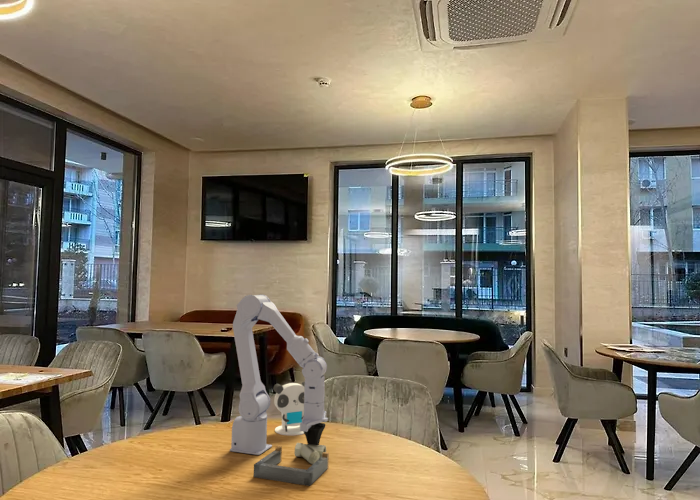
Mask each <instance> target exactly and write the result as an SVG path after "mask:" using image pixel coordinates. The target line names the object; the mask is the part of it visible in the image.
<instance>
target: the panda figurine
mask: <svg viewBox="0 0 700 500" xmlns="http://www.w3.org/2000/svg"><path fill="white" fill-rule="evenodd" d="M304 385H305V381H302V382H301V384H300V383H297V382H289V383H285V384H283V385H281V384H280V383H276V384H274V385H273V392H274V393H275V394H274V399H273V404H274V406H275V408H276V409H277V410H278V411H279V412H281V413H280V415H281V425H279V426H278V425H277V427H274V428H275V429H274V432H275V433H276V434H278V435H281V436H301V435H305V434H304V432H303V431H300V424H301V423H302V420H303V417H304Z"/></svg>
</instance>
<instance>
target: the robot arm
mask: <svg viewBox="0 0 700 500" xmlns="http://www.w3.org/2000/svg"><path fill="white" fill-rule="evenodd" d="M236 308H237V309H236V312H235V313H236V314H235V316H234V319H233V322H232V330H233V335H234V337H233V338H234V342H235V347H236V349H235V350H236V354H237V360H238V367H239V373H240V378H241V384H242V385H241V389H240V392H239V402H238V407H237V408H238V413H239V416H238V415H237V416H236V417H235V419H233V423H232V427H231V447H230V449H229V452H234V453H242V454H248V455H256V456H259V455H262V454H263V453H265V452H267V451H268V450H270V448H272V447H273V445H272V444H268V443H267V438H268V437H267V435H268V434H267V432H268V413H267V410H269V409H270V406H271V397H270V395H269V394H268V392H267V390H266V386H265V384H264V383H263V382H262V380H261V376H260V375H261V374H260V370H259V369H260V368H259V362H258V356H257V351H256V344H255V340H254V339H255V338H254V334H253V327H255V325H256V324H257V322H258V321H259V320H260V321H263V322H267V323H269V324H270V325H271V326H272V327H273V328H274V329H275V331H276V332H277V333H278V334H279V336H280V337H282V339H283V340H284V341H285V342H286V351H288V353H289V354H290V355H291V356H292V358H293V359H294V360H295V362H296V363H297V364H298V365H299V367H301V368H302V369H301V374H302V376H303V377H304V382H305V385H304V417H303V420H302V423H301V424H300V431H303V432H304V434H303V435H304V436H305V439H306V444H310V445H320V442H321V438H322V434H323V432H324V429H325V428H326V422H327V421H329V417H327V411H326V410H325V395H326V394H325V393H326V392H325V391H326V389H325V387H326V385H325V373H326V372H327V369H328V364H327V362H326V361H325V360H326V359H325V358H324V357H322V356H320V355H319V353H318V352H316V351H315V350H314V349H313V347H312V346H311V345H310V343H309V342H310V341H309V339H308V338H307V337H306V338H304V336H302V335H297V334H296V333H295V331H294V330H293V329H292V327H291V326H290V325H289V323H288V322H287V321H286V319H285V318H284V316H283V315H282V314H281V312H280V311H279V309H278V308H277V306H276V304H275V303H274V302H273V301H271V299H270V298H269V296H268V295H265V294H261V293H260V294H254V295H253V294H248V295H245V296H244V297H242V298H241V300H240V301H239V302H238V303H237V304H236Z"/></svg>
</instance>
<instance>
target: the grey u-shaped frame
mask: <svg viewBox="0 0 700 500" xmlns="http://www.w3.org/2000/svg"><path fill="white" fill-rule="evenodd" d="M282 450H283V447H282V446H281V445H276V446H275V450H273V451H271V452H270V453H268V454H267V455H266V456H264V457H263V458H261V459H260V460H258V461H257V462H255V463H254V464H253V478H257V479H264V480H270V481H276V482H281V483H282V482H283V483H289V484H295V485H302V486H308V487H310V486H312V485H313V483H315V482H316V481H317V480H318V479H319V478H320V477H321V476H322V475H323V474H324V473H325V472H326V471H327V470H329V465H330V463H329V459H330V453H329V452H327V451H326V452H323V453H322V457H321V458H320V459H318V460H317V461H316V462H315V463H314V464H311V465H310V466H309V467H308V468H307V469H304V468H297V467H290V466H283V465H278V464H280V463H281V462H282V459H283V458H282V457H283V453H282V452H283V451H282Z"/></svg>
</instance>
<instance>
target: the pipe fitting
mask: <svg viewBox="0 0 700 500" xmlns="http://www.w3.org/2000/svg"><path fill="white" fill-rule="evenodd" d="M323 452H327V446H326V445H324V444H319V445H310V444H307V443H303V442H296V444H295V447H294V456H295V457H297V458H303V459H304V460H306V461H307V462H308V463H309V464H311V465H313V464H314V463H315V462H316V461H317V460H318V459H320V458H321V457H322V453H323Z"/></svg>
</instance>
